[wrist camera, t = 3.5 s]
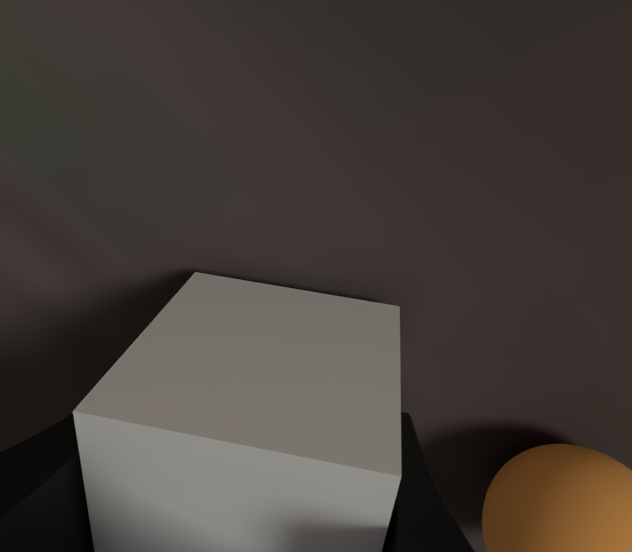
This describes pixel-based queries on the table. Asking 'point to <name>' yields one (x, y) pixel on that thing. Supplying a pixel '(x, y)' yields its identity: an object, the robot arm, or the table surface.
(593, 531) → the ball
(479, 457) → the table surface
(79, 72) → the table surface
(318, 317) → the pale grey cube
